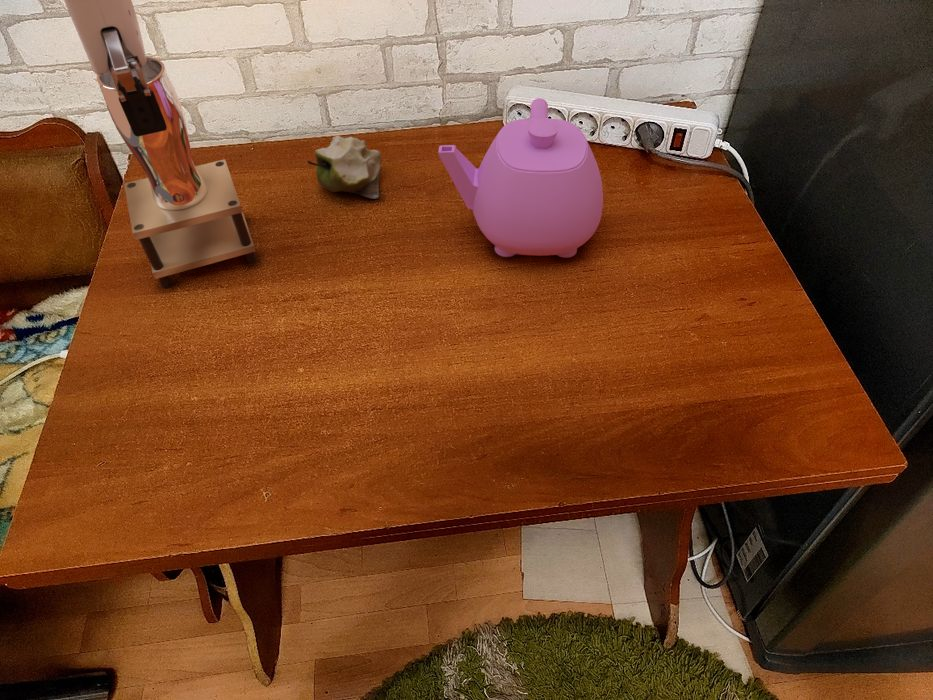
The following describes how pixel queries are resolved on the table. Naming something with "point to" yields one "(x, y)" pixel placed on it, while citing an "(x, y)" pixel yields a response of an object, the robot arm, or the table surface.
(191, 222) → the rack
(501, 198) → the teapot
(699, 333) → the table surface
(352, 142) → the fruit
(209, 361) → the table surface
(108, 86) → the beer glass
